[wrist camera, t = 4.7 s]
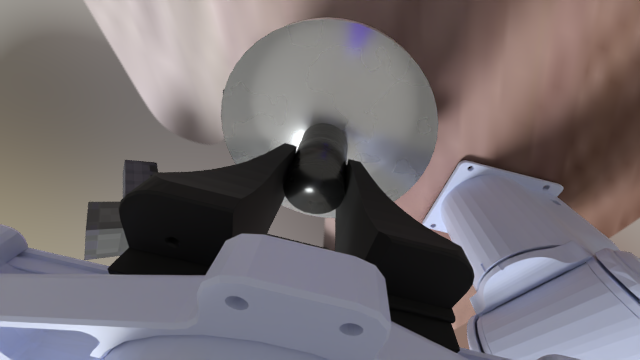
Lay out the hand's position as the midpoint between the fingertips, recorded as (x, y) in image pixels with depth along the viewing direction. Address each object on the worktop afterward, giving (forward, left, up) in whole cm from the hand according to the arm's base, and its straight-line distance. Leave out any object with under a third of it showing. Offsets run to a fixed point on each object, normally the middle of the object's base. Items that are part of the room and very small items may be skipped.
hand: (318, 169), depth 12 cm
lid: (0, -1, -4) cm, 4 cm away
